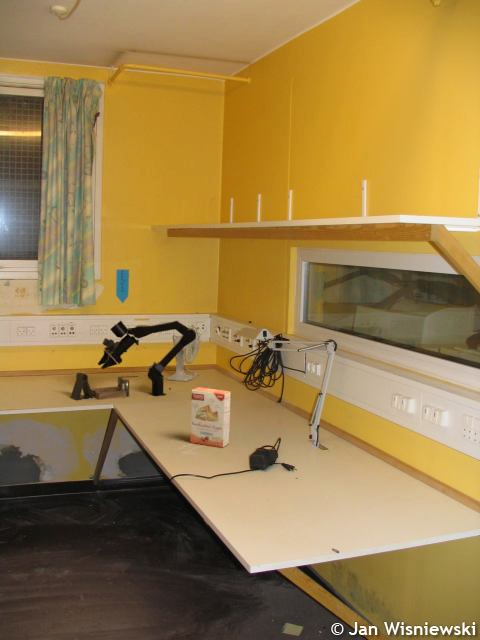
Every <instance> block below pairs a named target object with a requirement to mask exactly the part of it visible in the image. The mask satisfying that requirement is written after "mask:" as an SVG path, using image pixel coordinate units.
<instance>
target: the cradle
mask: <svg viewBox="0 0 480 640" xmlns="http://www.w3.org/2000/svg"><path fill="white" fill-rule="evenodd" d="M90 389H91V392H92V395H93V398H95V399H96V400H99V399H100V400H107V399H108V398H110V399H118V398H120V399H121V398H126V397H130V379H127V378H126V379H124V377H123V376H117V386H108V387H99V388H98V387H95V388H90ZM108 400H109V399H108Z"/></svg>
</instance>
